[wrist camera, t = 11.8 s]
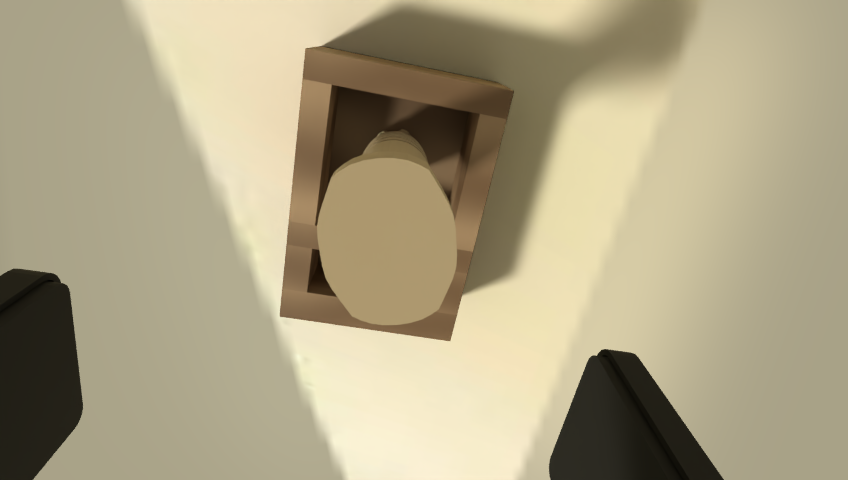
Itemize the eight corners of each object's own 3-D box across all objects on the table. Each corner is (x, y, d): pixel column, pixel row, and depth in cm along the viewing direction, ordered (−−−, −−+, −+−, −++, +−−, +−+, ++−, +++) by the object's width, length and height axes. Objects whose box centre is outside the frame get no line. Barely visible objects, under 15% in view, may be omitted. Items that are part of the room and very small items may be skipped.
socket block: (321, 46, 29) (305, 48, 25) (497, 82, 31) (514, 90, 26) (296, 279, 35) (279, 316, 31) (444, 302, 37) (450, 341, 32)
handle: (430, 97, 30) (452, 152, 16) (436, 197, 32) (460, 320, 19) (351, 103, 30) (304, 163, 16) (363, 203, 32) (332, 330, 19)
